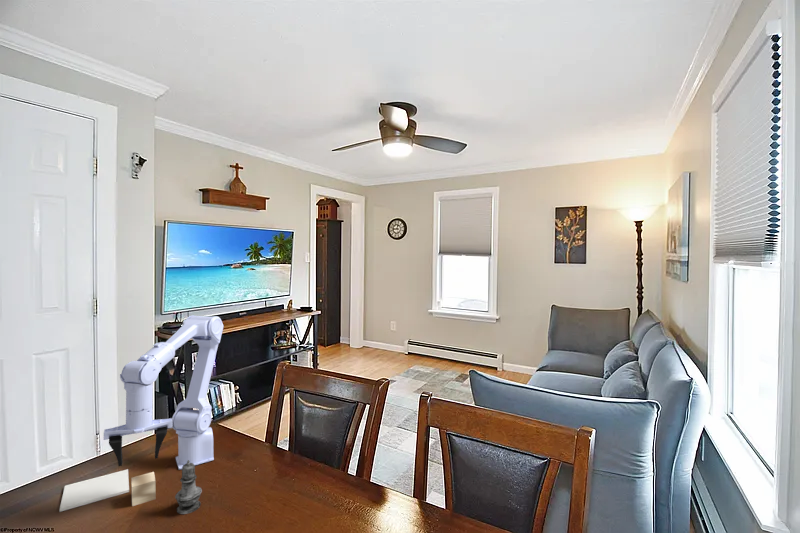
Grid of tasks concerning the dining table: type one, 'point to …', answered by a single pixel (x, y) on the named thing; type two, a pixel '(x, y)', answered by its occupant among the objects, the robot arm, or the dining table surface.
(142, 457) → the dining table surface
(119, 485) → the white mat
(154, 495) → the birch block
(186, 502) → the grey stone chess piece
